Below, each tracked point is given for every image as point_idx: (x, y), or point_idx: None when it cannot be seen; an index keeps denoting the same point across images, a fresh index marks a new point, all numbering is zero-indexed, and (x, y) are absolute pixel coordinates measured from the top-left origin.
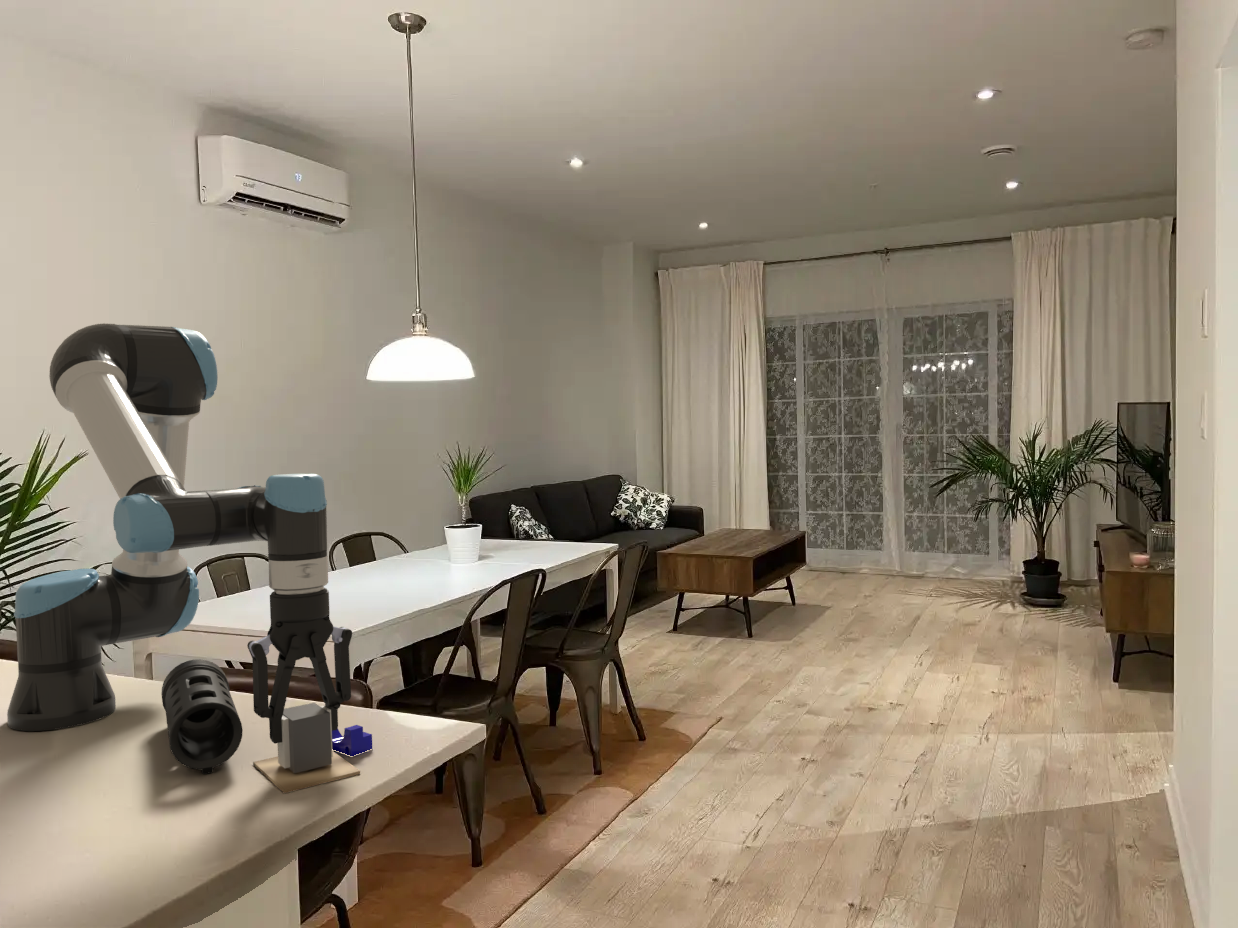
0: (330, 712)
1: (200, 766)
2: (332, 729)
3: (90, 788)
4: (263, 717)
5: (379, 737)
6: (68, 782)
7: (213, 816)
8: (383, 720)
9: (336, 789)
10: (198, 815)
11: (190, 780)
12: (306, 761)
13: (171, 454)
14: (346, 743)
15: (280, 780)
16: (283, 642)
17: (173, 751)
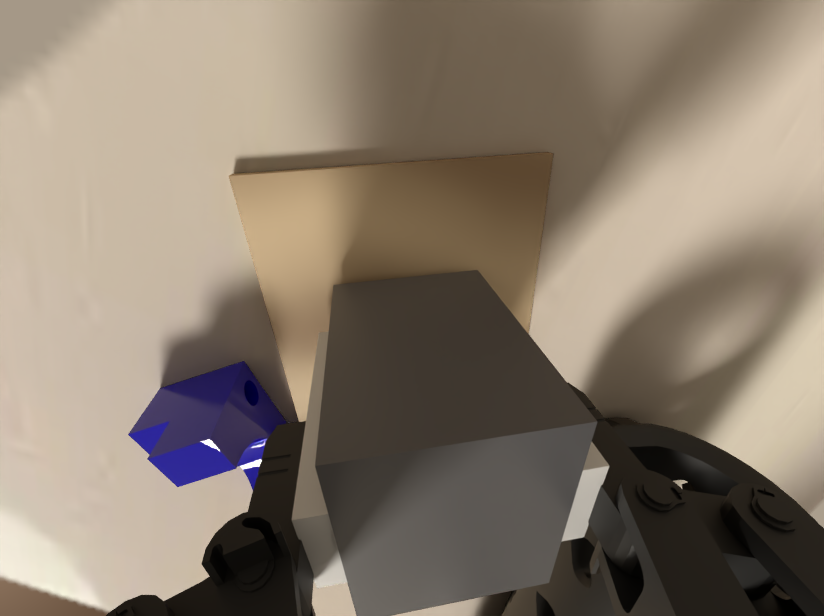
0: (298, 500)
1: (652, 429)
2: (299, 425)
3: (783, 443)
4: (748, 484)
5: (129, 473)
6: (778, 480)
7: (800, 86)
8: (113, 570)
9: (368, 41)
10: (812, 133)
11: (657, 400)
12: (439, 288)
13: None
14: (247, 412)
15: (519, 261)
16: None
17: (756, 471)
